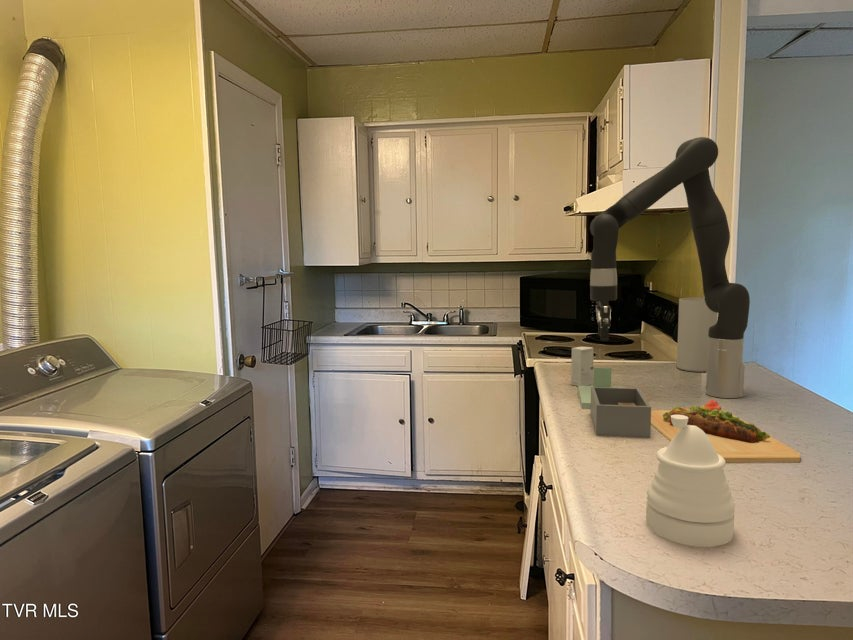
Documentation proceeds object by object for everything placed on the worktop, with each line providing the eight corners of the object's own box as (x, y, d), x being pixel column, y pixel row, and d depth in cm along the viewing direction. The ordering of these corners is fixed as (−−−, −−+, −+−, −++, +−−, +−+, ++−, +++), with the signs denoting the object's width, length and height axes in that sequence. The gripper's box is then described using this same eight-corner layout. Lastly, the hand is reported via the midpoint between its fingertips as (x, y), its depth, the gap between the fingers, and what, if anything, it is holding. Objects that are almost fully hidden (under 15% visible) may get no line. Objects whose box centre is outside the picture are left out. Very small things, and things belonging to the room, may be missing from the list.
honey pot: (645, 539, 91) (649, 426, 88) (646, 504, 103) (649, 404, 100) (738, 553, 86) (745, 434, 84) (728, 515, 98) (733, 410, 96)
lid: (625, 394, 176) (625, 367, 175) (635, 413, 157) (635, 382, 156) (577, 393, 179) (578, 366, 178) (581, 411, 160) (582, 381, 159)
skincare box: (580, 387, 186) (581, 349, 185) (570, 384, 190) (570, 347, 188) (594, 384, 190) (594, 347, 188) (583, 382, 193) (583, 345, 192)
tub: (638, 418, 152) (639, 388, 151) (650, 441, 135) (651, 407, 134) (590, 416, 155) (590, 386, 154) (596, 438, 137) (596, 405, 136)
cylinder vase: (673, 370, 208) (675, 300, 205) (680, 364, 219) (683, 297, 215) (711, 374, 201) (714, 301, 198) (717, 367, 211) (721, 298, 208)
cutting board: (635, 416, 156) (636, 389, 155) (725, 416, 155) (726, 388, 154) (691, 465, 121) (692, 430, 120) (806, 465, 121) (808, 429, 120)
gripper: (619, 285, 164) (619, 342, 166) (614, 281, 178) (614, 334, 180) (592, 286, 165) (591, 342, 167) (588, 282, 179) (588, 334, 181)
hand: (603, 338), depth 174 cm, fingers open, 8 cm apart
